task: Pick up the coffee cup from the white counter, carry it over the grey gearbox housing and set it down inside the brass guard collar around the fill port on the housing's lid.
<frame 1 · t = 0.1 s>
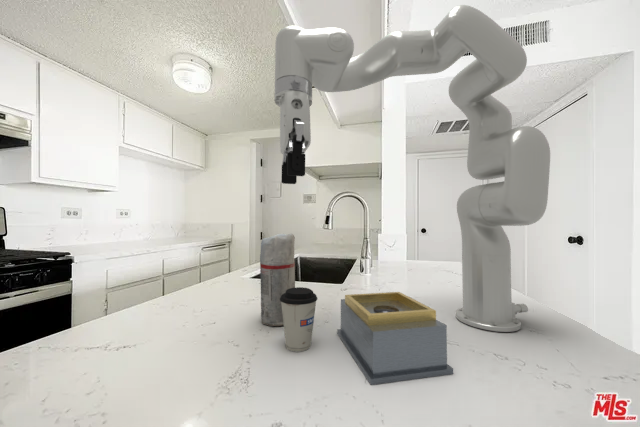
hand: (292, 179, 51), 31 cm above the counter, fingers open, 9 cm apart
gearbox: (386, 350, 46), on the counter
spray can: (278, 321, 60), on the counter
coffee cup: (298, 346, 48), on the counter
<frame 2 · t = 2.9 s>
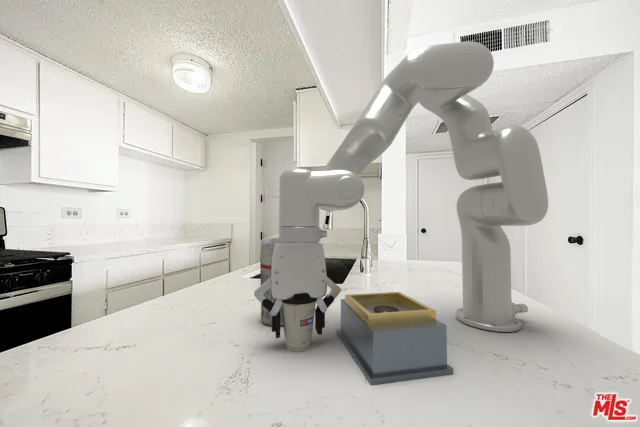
hand: (298, 332, 48), 2 cm above the counter, fingers closed on coffee cup, 7 cm apart
coffee cup: (298, 346, 48), on the counter, touching gripper
everything else where it was.
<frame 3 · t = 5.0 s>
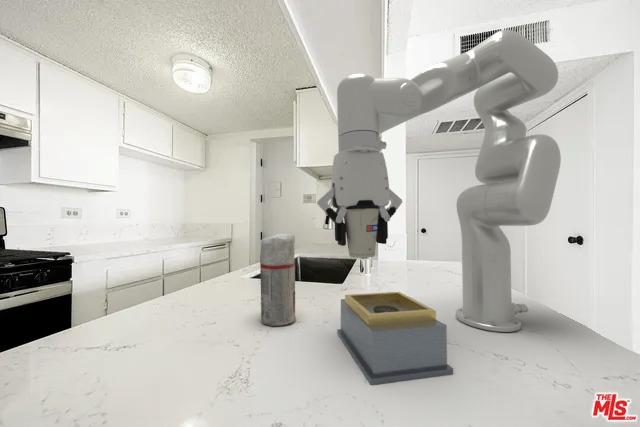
hand: (361, 243, 47), 19 cm above the counter, fingers closed on coffee cup, 7 cm apart
coffee cup: (361, 256, 47), point 16 cm above the counter, touching gripper
everything else where it was.
when the fingers open (11 cm above the counter, at t = 7.5 s): coffee cup drops 1 cm, resting on gearbox.
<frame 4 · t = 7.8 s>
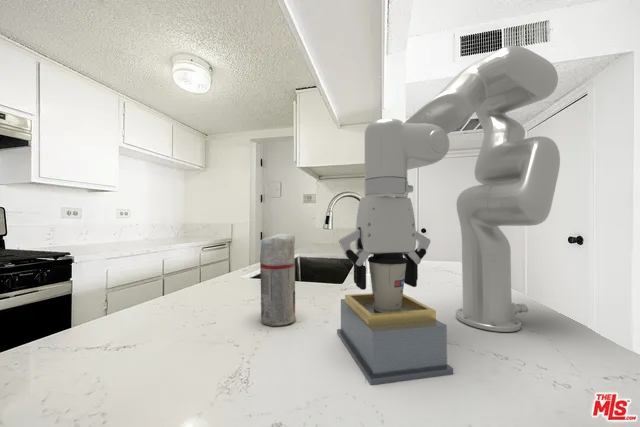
hand: (386, 286, 46), 11 cm above the counter, fingers open, 9 cm apart
coffee cup: (387, 310, 46), point 7 cm above the counter, touching gearbox
everything else where it was.
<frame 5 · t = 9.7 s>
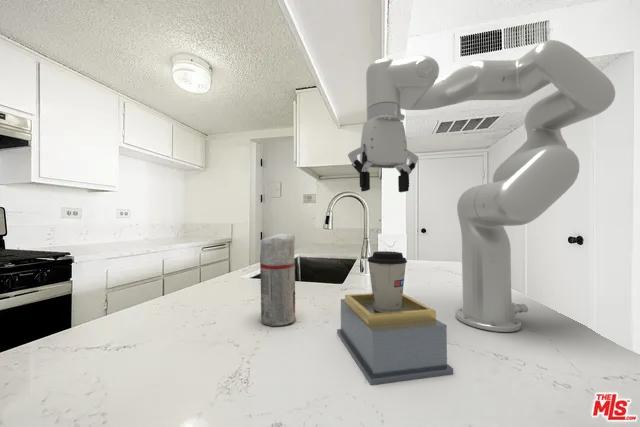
hand: (384, 191, 59), 30 cm above the counter, fingers open, 9 cm apart
nothing on the counter moved.
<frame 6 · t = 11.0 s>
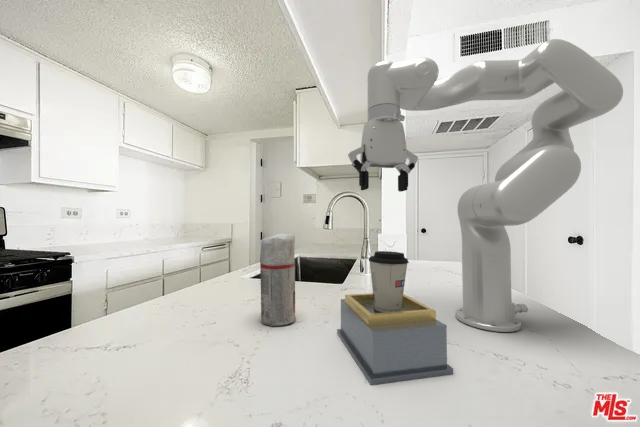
hand: (383, 190, 61), 30 cm above the counter, fingers open, 9 cm apart
nothing on the counter moved.
at the end: coffee cup inside the target area on the gearbox (0.3 cm from its centre), point 7.0 cm above the gearbox's base; coffee cup tilted 1°; the gripper is holding nothing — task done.
